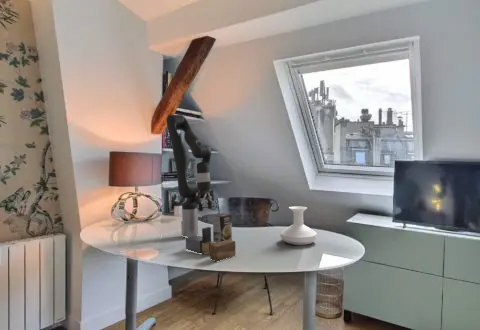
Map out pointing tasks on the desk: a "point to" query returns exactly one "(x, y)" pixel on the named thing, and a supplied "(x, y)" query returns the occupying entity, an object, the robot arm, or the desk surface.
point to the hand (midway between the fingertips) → (205, 209)
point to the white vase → (298, 229)
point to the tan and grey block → (206, 240)
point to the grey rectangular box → (194, 243)
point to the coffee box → (222, 227)
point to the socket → (222, 250)
